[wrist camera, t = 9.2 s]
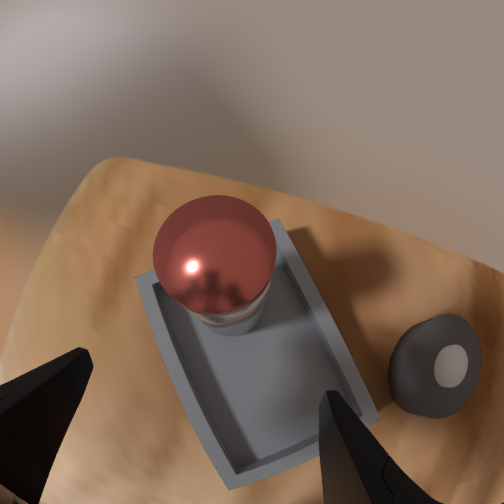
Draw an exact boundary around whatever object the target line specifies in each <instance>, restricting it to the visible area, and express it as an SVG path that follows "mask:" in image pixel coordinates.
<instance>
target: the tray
mask: <svg viewBox="0 0 504 504" xmlns="http://www.w3.org/2000/svg"><path fill="white" fill-rule="evenodd" d="M269 224H270V226H271V228H272V230H273V233H274V235H275V240H276V247H277V254H276V261H275V266H274V270H273V274H272V278H271V282H270V286H269V290H268V293H267V297H266V301H265V305H264V309H263V312H262V316H261V318H260V320H259V322H258V323H257V325H256V326H255V327H254V328H253V329H252V330H250V331H249V332H247V333H245V334H243V335H240V336H235V337H228V336H223V335H220V334H217V333H216V332H214V331H212V330H211V329H210V328H209V327H207V326H206V325H205V324H204V323H202V322H201V321H200V320H199V319H197V318H196V317H195V316H194V315H193V314H191V313H190V312H189V311H188V310H187V309H185V308H184V307H183V306H182V305H181V304H179V303H178V302H177V301H176V300H175V299H174V298H173V297H171V296H170V295H169V294H168V293H167V292H166V290H165V289H164V288H163V286H162V285H161V283H160V281H159V279H158V277H157V275H156V272H155V269H153V270H151V271H149V272H146V273H144V274H142V275H139V276H137V277H135V278H136V282H137V285H138V288H139V292H140V295H141V298H142V301H143V305H144V308H145V311H146V314H147V317H148V320H149V323H150V326H151V329H152V331H153V334H154V337H155V340H156V342H157V345H158V348H159V350H160V353H161V356H162V358H163V361H164V363H165V366H166V368H167V371H168V373H169V376H170V378H171V380H172V383H173V385H174V387H175V390H176V392H177V394H178V396H179V399H180V401H181V403H182V405H183V407H184V409H185V412H186V414H187V416H188V418H189V420H190V422H191V424H192V426H193V428H194V430H195V432H196V434H197V436H198V438H199V440H200V441H201V443H202V445H203V447H204V449H205V451H206V453H207V454H208V456H209V458H210V460H211V461H212V463H213V465H214V467H215V468H216V470H217V472H218V473H219V475H220V477H221V478H222V480H223V482H224V483H225V485H226V487H227V488H228V490H231V489H235V488H238V487H241V486H244V485H247V484H250V483H253V482H256V481H259V480H262V479H265V478H267V477H270V476H273V475H275V474H278V473H280V472H283V471H285V470H287V469H290V468H292V467H294V466H297V465H299V464H301V463H303V462H305V461H307V460H310V459H312V458H314V457H316V456H318V455H319V405H320V402H321V400H322V397H323V395H324V393H325V391H326V390H337V391H338V392H339V393H340V394H341V396H342V397H343V398H344V399H345V401H346V402H347V403H348V404H349V406H350V407H351V408H352V410H353V411H354V412H355V413H356V415H357V416H358V417H359V418H360V420H361V421H362V422H363V423H364V425H365V426H366V427H369V426H370V425H372V424H373V423H375V422H376V421H378V420H379V419H381V418H380V416H379V414H378V411H377V409H376V407H375V405H374V403H373V400H372V398H371V396H370V394H369V392H368V390H367V387H366V385H365V383H364V381H363V379H362V377H361V375H360V373H359V371H358V368H357V366H356V364H355V362H354V360H353V358H352V356H351V354H350V352H349V350H348V348H347V346H346V344H345V342H344V340H343V338H342V336H341V334H340V332H339V330H338V328H337V326H336V324H335V322H334V320H333V318H332V316H331V314H330V312H329V310H328V308H327V306H326V304H325V302H324V300H323V299H322V297H321V295H320V293H319V291H318V289H317V287H316V285H315V283H314V281H313V280H312V278H311V276H310V274H309V272H308V270H307V268H306V267H305V265H304V263H303V261H302V259H301V257H300V255H299V254H298V252H297V250H296V248H295V246H294V245H293V243H292V241H291V239H290V237H289V236H288V234H287V232H286V230H285V228H284V227H283V225H282V223H281V221H280V220H279V218H278V219H275V220H273V221H270V222H269Z"/></svg>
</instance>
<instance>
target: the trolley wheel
mask: <svg viewBox="0 0 504 504" xmlns="http://www.w3.org/2000/svg"><path fill="white" fill-rule="evenodd" d="M480 368H481V351H480V345H479V341H478V338H477V336H476V333H475V332H474V330H473V328H472V327H471V326H470V324H469V323H468V322H467V321H466V320H464V319H463V318H461V317H459V316H456V315H443V316H440V317H437V318H434V319H431V320H428V321H425V322H422V323H419V324H417V325H414V326H413V327H411V328H410V329H409V330H408V331H406V332H405V333H404V335H403V336H402V337H401V338H400V340H399V341H398V343H397V345H396V346H395V348H394V351H393V353H392V356H391V360H390V364H389V386H390V391H391V393H392V396H393V398H394V400H395V401H396V403H397V404H398V405H399V406H400V407H401V408H402V409H403V410H405V411H406V412H409V413H412V414H417V415H421V416H426V417H431V418H444V417H447V416H450V415H452V414H454V413H455V412H457V411H458V410H459V409H460V408H461V407H463V406H464V404H465V403H466V402H467V401H468V399H469V398H470V396H471V395H472V393H473V391H474V389H475V387H476V384H477V381H478V378H479V374H480Z"/></svg>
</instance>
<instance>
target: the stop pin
mask: <svg viewBox="0 0 504 504" xmlns="http://www.w3.org/2000/svg"><path fill="white" fill-rule="evenodd" d="M276 254H277V247H276V240H275V235H274V233H273V230H272V228H271V226H270V224H269V222H268V221H267V219H266V218H265V217H264V215H263V214H262V213H261V212H260V211H259V210H257V209H256V208H255V207H254V206H252V205H250V204H249V203H247V202H245V201H243V200H240V199H237V198H234V197H229V196H220V195H215V196H206V197H201V198H198V199H195V200H192V201H190V202H188V203H186V204H184V205H182V206H181V207H179V208H178V209H177V210H175V211H174V212H173V213H172V214H171V215H170V216H169V217H168V218H167V219H166V221H165V222H164V223H163V225H162V226H161V228H160V230H159V232H158V234H157V237H156V240H155V244H154V249H153V263H154V269H155V272H156V275H157V277H158V279H159V281H160V283H161V285H162V286H163V288H164V289H165V290H166V292H167V293H168V294H169V295H170V296H171V297H173V298H174V299H175V300H176V301H177V302H178V303H179V304H181V305H182V306H183V307H184V308H185V309H187V310H188V311H189V312H190V313H191V314H193V315H194V316H195V317H196V318H197V319H199V320H200V321H201V322H202V323H204V324H205V325H206V326H207V327H209V328H210V329H211V330H212V331H214V332H216V333H217V334H220V335H223V336H228V337H235V336H240V335H243V334H245V333H247V332H249V331H250V330H252V329H253V328H254V327H255V326H256V325H257V323H258V322H259V320H260V318H261V316H262V312H263V309H264V305H265V301H266V297H267V293H268V290H269V286H270V282H271V278H272V274H273V270H274V266H275V261H276Z"/></svg>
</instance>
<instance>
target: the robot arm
mask: <svg viewBox="0 0 504 504" xmlns="http://www.w3.org/2000/svg"><path fill="white" fill-rule="evenodd" d="M92 370H93V362H92V360H91V357H90V354H89V351H88V350H87V349H84V348H81V347H78V348H76V349H74V350H72V351H70V352H68V353H66V354H64V355H62V356H60V357H58V358H56V359H54V360H52V361H50V362H47V363H45V364H43V365H41V366H39V367H37V368H35V369H33V370H31V371H29V372H27V373H25V374H23V375H21V376H19V377H17V378H15V379H14V380H11V381H9V382H7V383H4V384H2V385H0V504H17V502H16V501H15V498H16V496H18V497H19V498H21V499H22V500H24V501H25V502H27V503H29V504H39V501H40V498H41V495H42V492H43V489H44V487H45V484H46V481H47V478H48V476H49V472H50V470H51V467H52V465H53V462H54V460H55V457H56V455H57V453H58V450H59V448H60V445H61V443H62V441H63V438H64V436H65V434H66V432H67V429H68V427H69V425H70V423H71V421H72V419H73V416H74V414H75V412H76V410H77V408H78V406H79V404H80V402H81V399H82V397H83V395H84V392H85V389H86V386H87V384H88V381H89V378H90V376H91V373H92ZM319 455H320V464H321V474H322V485H323V497H324V504H443V503H440V502H438V501H436V500H434V499H433V498H431V497H430V496H429V495H428V494H427V493H426V492H425V491H423V490H422V489H421V488H420V487H419V486H418V485H417V484H416V483H415V482H413V481H412V480H411V479H410V478H409V477H408V476H407V475H406V474H405V473H404V472H403V471H402V470H401V468H400V467H399V466H398V465H397V464H396V463H395V462H394V460H393V459H392V458H391V457H390V456H388V455H389V454H388V453H387V452H386V451H385V449H384V448H383V447H382V446H381V445H380V443H379V442H378V441H377V440H376V438H375V437H374V436H373V435H372V433H371V432H370V431H369V430H368V428H367V427H366V426H365V425H364V423H363V422H362V421H361V420H360V418H359V417H358V416H357V415H356V413H355V412H354V411H353V410H352V408H351V407H350V406H349V404H348V403H347V402H346V401H345V399H344V398H343V397H342V396H341V394H340V393H339V392H338V391H337V390H326V391H325V393H324V395H323V397H322V400H321V402H320V405H319ZM501 504H504V502H503V503H501Z"/></svg>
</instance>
